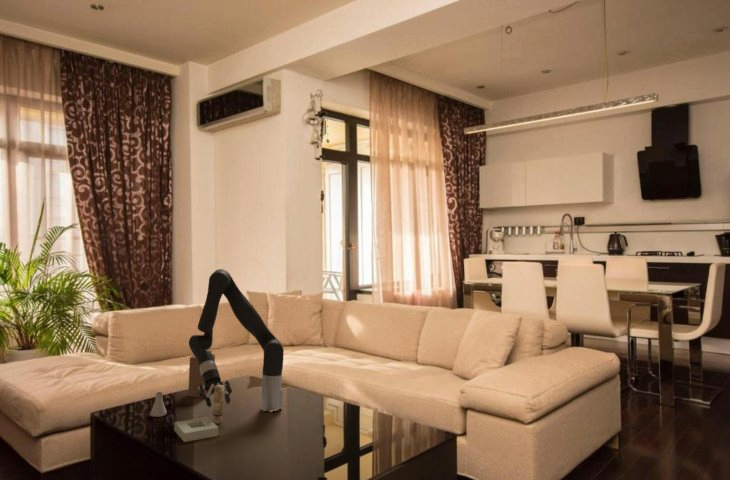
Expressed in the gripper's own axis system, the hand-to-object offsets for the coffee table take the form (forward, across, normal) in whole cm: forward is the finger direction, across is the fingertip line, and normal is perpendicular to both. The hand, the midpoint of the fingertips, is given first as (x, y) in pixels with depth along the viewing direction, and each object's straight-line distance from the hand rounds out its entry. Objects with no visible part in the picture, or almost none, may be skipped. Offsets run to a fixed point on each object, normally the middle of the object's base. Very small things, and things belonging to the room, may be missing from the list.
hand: (219, 404), depth 240 cm
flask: (-11, -18, +23) cm, 31 cm away
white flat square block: (+10, -13, +2) cm, 16 cm away
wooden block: (-24, +10, +35) cm, 44 cm away
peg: (+5, 0, +7) cm, 8 cm away
